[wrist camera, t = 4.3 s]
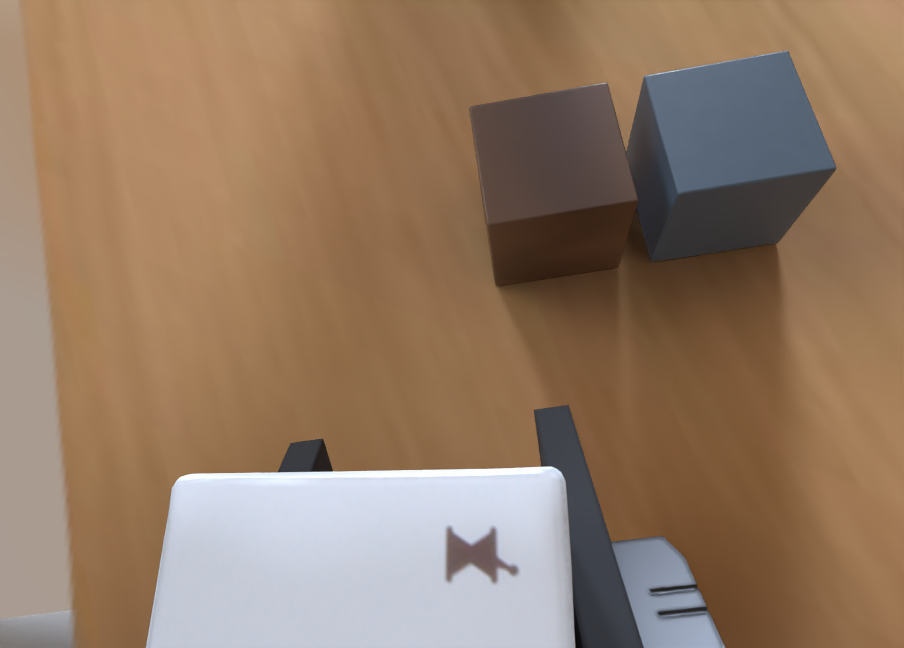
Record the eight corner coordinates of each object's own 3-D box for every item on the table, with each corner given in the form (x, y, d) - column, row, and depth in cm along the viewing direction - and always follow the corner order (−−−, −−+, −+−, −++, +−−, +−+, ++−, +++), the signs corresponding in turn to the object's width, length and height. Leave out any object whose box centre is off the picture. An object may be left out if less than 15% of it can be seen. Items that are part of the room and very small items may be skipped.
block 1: (495, 287, 20) (486, 225, 16) (480, 184, 21) (468, 105, 17) (619, 268, 19) (639, 200, 16) (594, 165, 21) (608, 81, 17)
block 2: (650, 263, 19) (678, 194, 16) (623, 160, 21) (643, 74, 17) (778, 243, 19) (838, 168, 15) (741, 140, 20) (788, 49, 17)
